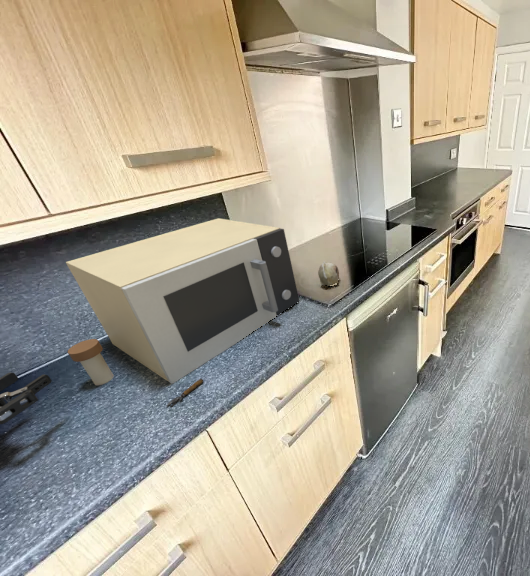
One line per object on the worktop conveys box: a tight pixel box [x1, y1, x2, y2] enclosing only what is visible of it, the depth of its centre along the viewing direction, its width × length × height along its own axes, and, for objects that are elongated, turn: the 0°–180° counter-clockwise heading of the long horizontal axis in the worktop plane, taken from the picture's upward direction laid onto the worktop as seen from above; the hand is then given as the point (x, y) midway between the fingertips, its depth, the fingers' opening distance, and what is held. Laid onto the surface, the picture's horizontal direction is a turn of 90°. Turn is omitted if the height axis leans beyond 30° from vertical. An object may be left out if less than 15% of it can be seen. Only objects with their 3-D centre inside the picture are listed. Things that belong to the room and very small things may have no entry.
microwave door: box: [121, 239, 278, 385], centre depth 84 cm, size 7×34×27 cm, turn 148°
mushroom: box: [67, 338, 115, 386], centre depth 79 cm, size 6×6×11 cm
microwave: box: [65, 217, 300, 383], centre depth 97 cm, size 35×44×27 cm
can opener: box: [165, 378, 204, 408], centre depth 75 cm, size 9×2×1 cm, turn 149°
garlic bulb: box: [317, 261, 340, 287], centre depth 120 cm, size 9×8×10 cm
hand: (31, 376), depth 67 cm, fingers open, 8 cm apart
